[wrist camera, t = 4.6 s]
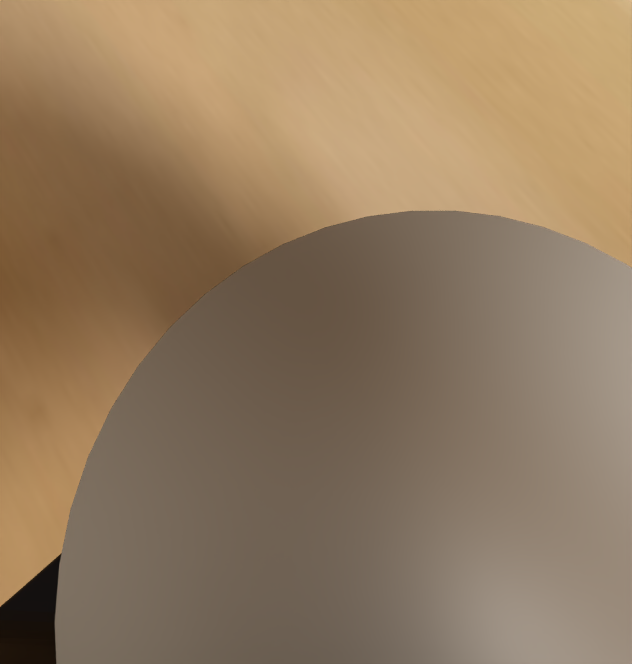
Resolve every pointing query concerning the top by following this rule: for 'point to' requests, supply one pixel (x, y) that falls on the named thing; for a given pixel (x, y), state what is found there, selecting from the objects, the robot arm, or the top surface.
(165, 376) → the walnut peg
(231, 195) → the top surface
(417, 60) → the top surface
